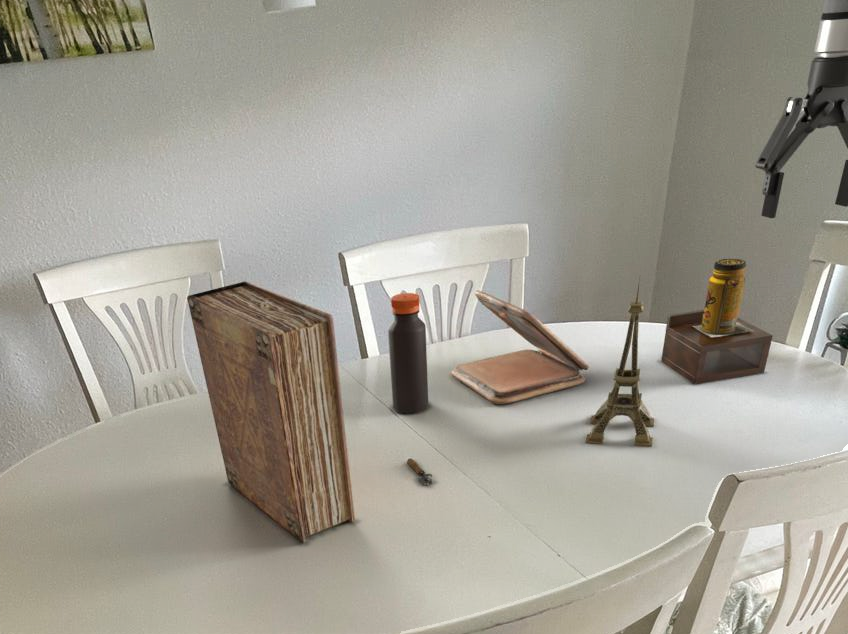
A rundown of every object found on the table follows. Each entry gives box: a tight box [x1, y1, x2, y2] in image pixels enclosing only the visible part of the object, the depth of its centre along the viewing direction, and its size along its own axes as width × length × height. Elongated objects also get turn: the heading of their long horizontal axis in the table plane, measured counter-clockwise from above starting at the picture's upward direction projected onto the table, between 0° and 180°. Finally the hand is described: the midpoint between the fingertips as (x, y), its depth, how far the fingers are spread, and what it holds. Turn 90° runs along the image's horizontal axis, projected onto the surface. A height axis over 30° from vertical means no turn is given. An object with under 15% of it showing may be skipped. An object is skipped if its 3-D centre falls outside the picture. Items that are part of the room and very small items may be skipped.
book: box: [186, 281, 356, 545], centre depth 114 cm, size 25×9×30 cm, turn 34°
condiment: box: [693, 258, 754, 338], centre depth 143 cm, size 7×8×12 cm
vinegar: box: [387, 292, 429, 415], centre depth 142 cm, size 7×7×20 cm
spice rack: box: [660, 309, 774, 385], centre depth 148 cm, size 13×14×9 cm
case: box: [451, 290, 590, 405], centre depth 149 cm, size 20×21×16 cm
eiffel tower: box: [585, 276, 655, 447], centre depth 125 cm, size 11×11×25 cm
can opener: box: [406, 457, 433, 486], centre depth 127 cm, size 9×2×1 cm, turn 14°
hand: (805, 211), depth 131 cm, fingers open, 13 cm apart
